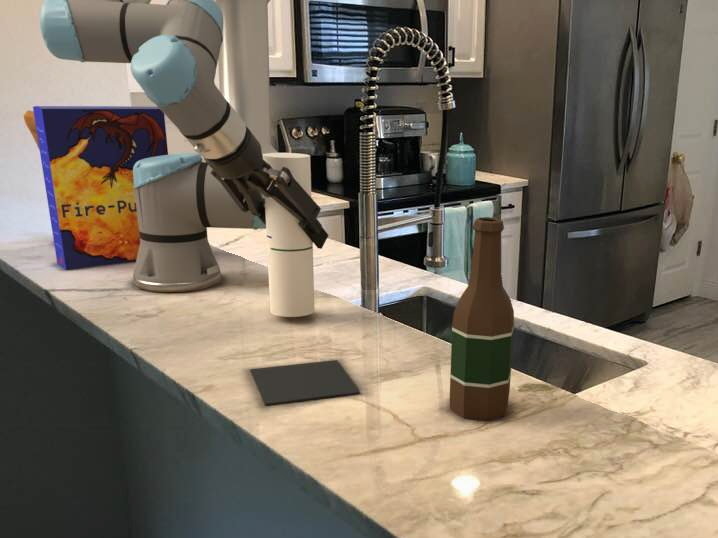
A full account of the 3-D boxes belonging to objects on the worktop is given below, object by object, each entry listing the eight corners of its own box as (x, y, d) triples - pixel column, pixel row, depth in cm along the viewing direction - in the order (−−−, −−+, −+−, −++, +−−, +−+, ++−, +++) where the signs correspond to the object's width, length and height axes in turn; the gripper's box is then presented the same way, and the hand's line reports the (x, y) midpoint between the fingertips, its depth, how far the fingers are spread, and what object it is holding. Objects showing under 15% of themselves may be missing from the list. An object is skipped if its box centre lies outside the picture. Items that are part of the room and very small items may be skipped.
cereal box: (66, 270, 147) (41, 107, 137) (57, 263, 151) (32, 104, 141) (178, 256, 161) (163, 107, 150) (167, 250, 165) (152, 105, 154)
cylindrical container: (302, 302, 131) (297, 152, 122) (322, 312, 126) (318, 157, 117) (262, 308, 126) (254, 153, 118) (282, 319, 121) (275, 158, 113)
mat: (250, 371, 104) (250, 369, 104) (336, 361, 109) (336, 360, 109) (265, 405, 94) (265, 403, 94) (359, 393, 99) (359, 391, 99)
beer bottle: (520, 405, 98) (534, 219, 89) (490, 427, 91) (501, 228, 83) (468, 391, 101) (477, 210, 93) (436, 411, 95) (442, 219, 86)
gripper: (159, 155, 108) (246, 248, 128) (268, 169, 100) (344, 266, 120) (184, 116, 111) (267, 212, 130) (293, 126, 103) (363, 227, 122)
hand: (303, 238), depth 125 cm, fingers closed on cylindrical container, 7 cm apart
